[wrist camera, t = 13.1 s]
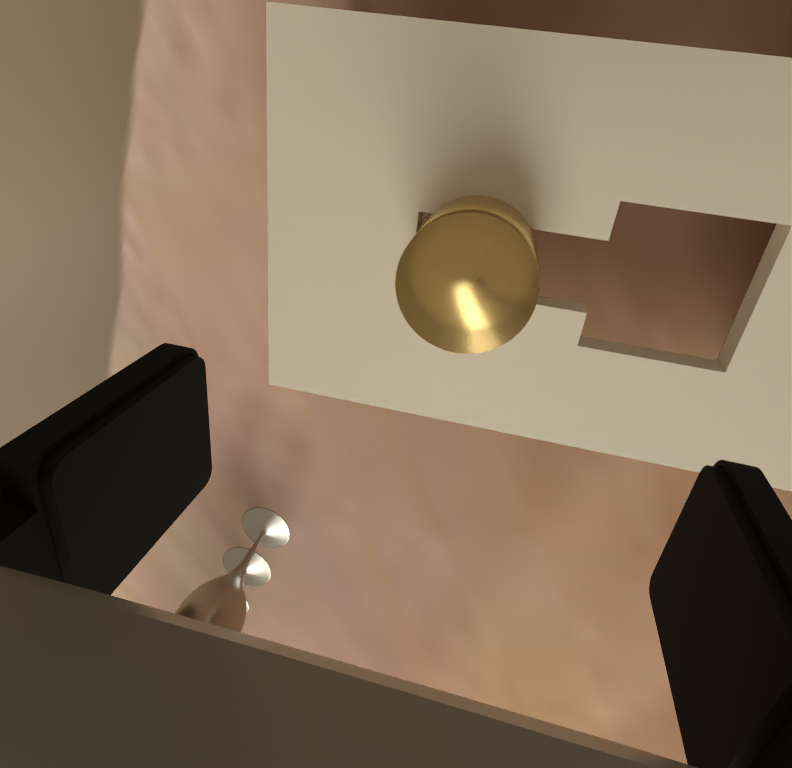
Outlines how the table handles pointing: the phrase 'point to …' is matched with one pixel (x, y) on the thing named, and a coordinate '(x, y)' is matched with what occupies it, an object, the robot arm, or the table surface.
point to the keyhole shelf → (543, 210)
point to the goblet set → (237, 574)
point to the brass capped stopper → (469, 276)
